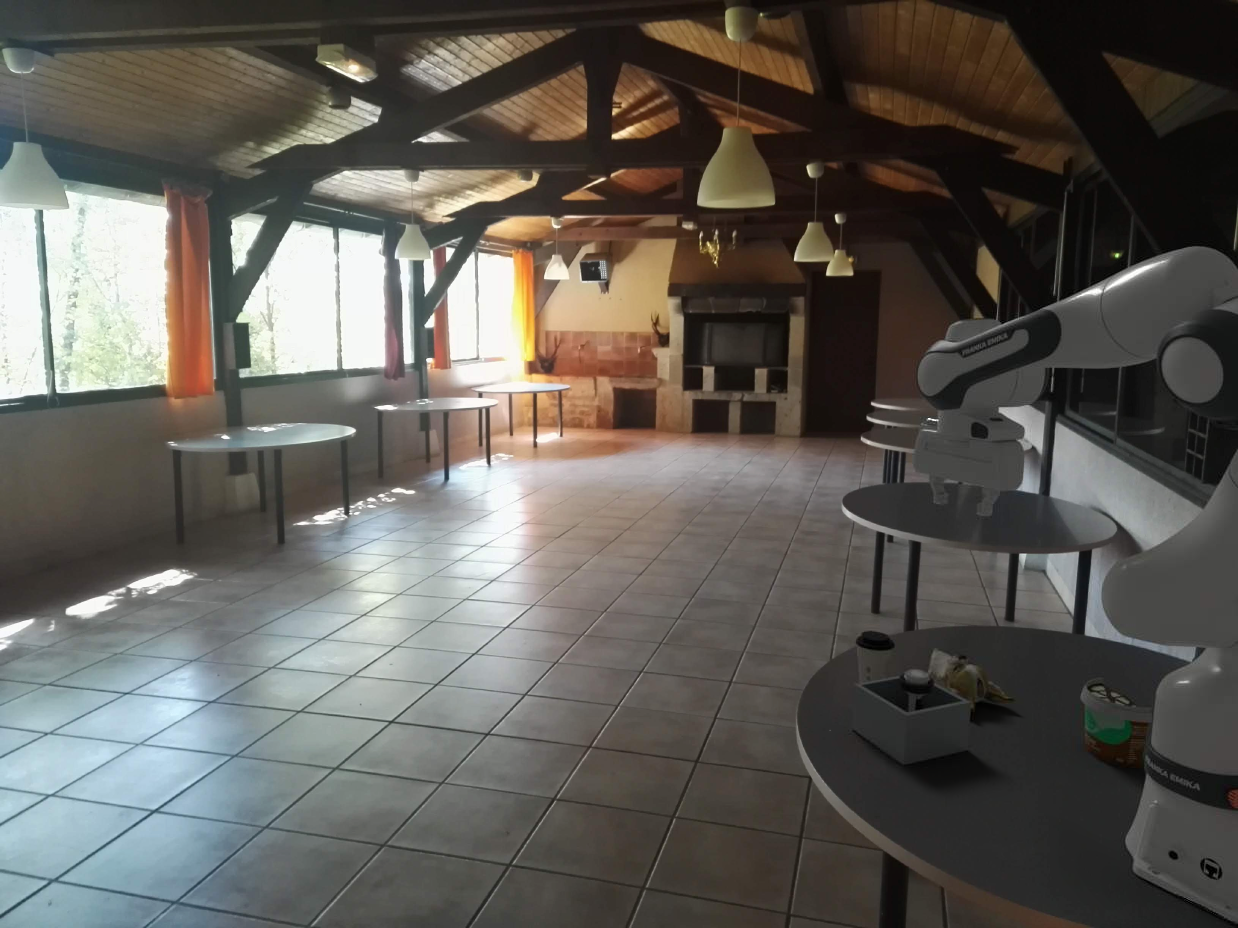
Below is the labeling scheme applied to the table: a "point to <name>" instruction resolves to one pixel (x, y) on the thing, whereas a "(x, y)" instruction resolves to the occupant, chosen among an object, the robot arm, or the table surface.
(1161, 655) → the table surface
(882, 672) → the coffee cup
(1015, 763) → the table surface
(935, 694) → the bin
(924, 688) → the push button
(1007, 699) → the ceramic sculpture
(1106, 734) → the food container
